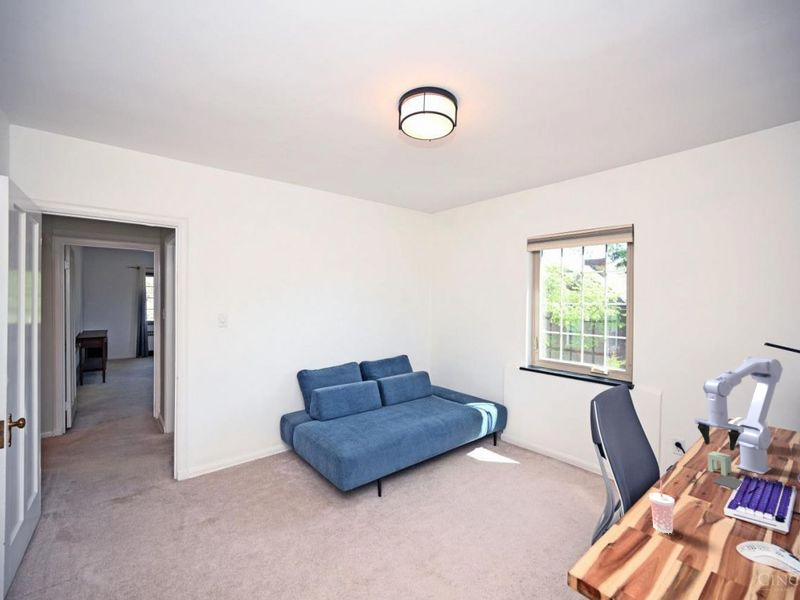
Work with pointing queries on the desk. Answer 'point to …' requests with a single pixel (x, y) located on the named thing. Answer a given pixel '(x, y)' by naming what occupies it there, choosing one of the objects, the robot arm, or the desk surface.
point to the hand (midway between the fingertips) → (719, 446)
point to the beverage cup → (662, 511)
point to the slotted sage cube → (725, 462)
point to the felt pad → (728, 482)
